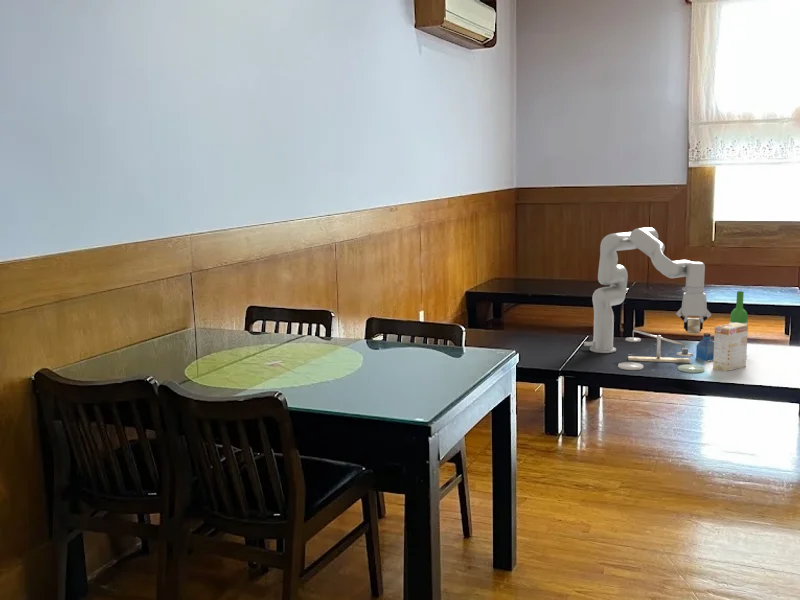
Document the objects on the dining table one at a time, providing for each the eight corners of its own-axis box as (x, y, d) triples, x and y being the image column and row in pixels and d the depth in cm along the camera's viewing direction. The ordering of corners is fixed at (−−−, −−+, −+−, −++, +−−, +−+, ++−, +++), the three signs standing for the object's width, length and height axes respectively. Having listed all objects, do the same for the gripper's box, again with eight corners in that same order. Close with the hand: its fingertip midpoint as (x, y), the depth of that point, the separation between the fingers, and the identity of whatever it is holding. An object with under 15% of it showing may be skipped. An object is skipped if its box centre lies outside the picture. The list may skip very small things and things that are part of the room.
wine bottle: (742, 351, 391) (746, 290, 386) (748, 354, 383) (751, 292, 378) (726, 351, 392) (729, 290, 387) (731, 354, 384) (734, 292, 379)
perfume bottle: (705, 356, 381) (706, 332, 379) (715, 359, 375) (717, 334, 374) (696, 358, 378) (697, 333, 376) (706, 360, 373) (707, 335, 371)
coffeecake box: (732, 363, 367) (734, 322, 363) (746, 366, 361) (749, 324, 358) (711, 368, 359) (714, 325, 356) (725, 371, 353) (728, 328, 350)
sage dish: (679, 372, 353) (679, 370, 353) (677, 366, 364) (677, 364, 363) (705, 373, 350) (705, 371, 350) (702, 367, 361) (702, 365, 361)
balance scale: (625, 361, 375) (625, 330, 372) (624, 357, 381) (625, 327, 379) (693, 363, 368) (694, 332, 365) (691, 360, 374) (692, 329, 372)
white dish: (618, 369, 359) (618, 367, 359) (617, 363, 370) (617, 361, 370) (643, 370, 357) (644, 368, 356) (642, 364, 367) (642, 362, 367)
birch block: (687, 333, 352) (688, 319, 351) (686, 331, 357) (686, 317, 356) (699, 333, 351) (700, 320, 350) (698, 331, 356) (698, 318, 355)
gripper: (675, 291, 350) (673, 331, 353) (716, 291, 346) (714, 333, 348) (673, 288, 357) (672, 328, 360) (714, 289, 353) (712, 329, 356)
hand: (693, 330), depth 354 cm, fingers closed on birch block, 5 cm apart
